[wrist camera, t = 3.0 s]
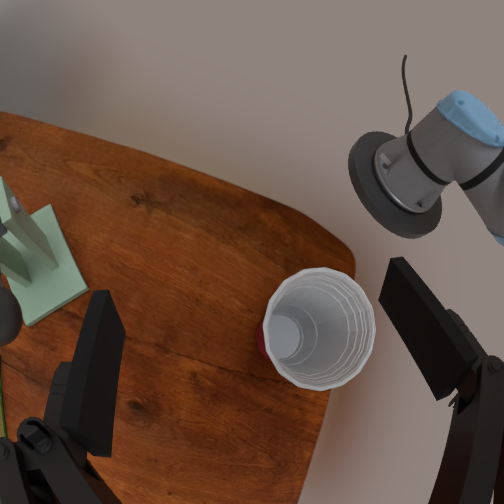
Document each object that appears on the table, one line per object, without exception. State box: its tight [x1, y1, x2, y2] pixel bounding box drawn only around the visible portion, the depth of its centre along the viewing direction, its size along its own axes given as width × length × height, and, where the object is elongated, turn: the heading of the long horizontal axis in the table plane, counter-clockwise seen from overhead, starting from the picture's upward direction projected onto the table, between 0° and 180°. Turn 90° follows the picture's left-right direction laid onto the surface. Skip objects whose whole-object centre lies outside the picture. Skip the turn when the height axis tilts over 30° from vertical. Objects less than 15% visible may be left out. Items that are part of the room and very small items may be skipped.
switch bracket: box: [0, 177, 89, 326], centre depth 24 cm, size 12×9×15 cm
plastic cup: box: [256, 267, 376, 391], centre depth 31 cm, size 11×11×12 cm
